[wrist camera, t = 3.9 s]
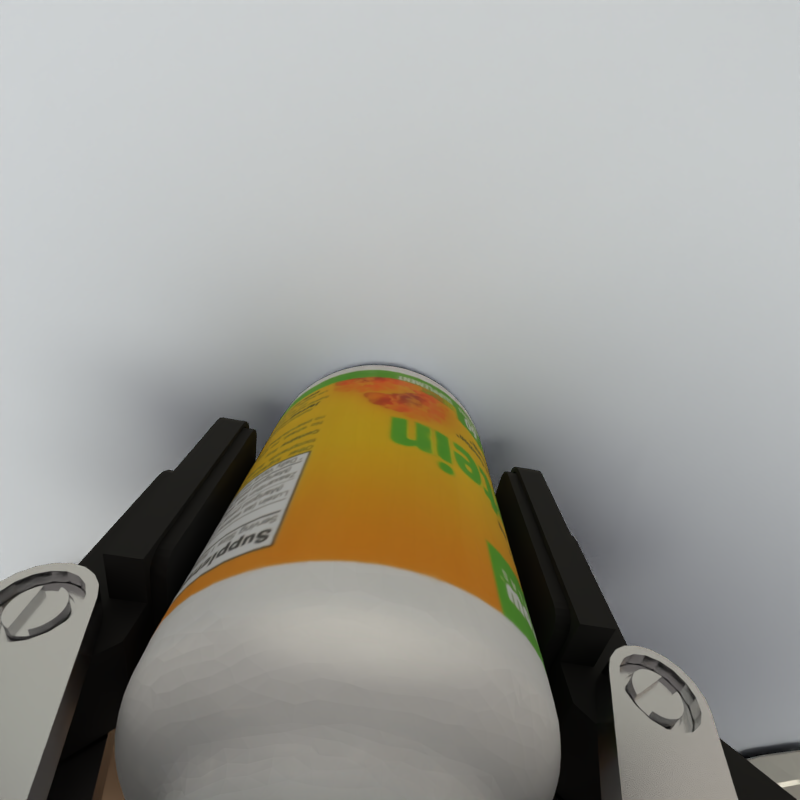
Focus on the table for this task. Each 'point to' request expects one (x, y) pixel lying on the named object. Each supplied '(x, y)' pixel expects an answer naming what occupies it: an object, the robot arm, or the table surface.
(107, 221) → the table surface
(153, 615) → the robot arm
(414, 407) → the supplement bottle
